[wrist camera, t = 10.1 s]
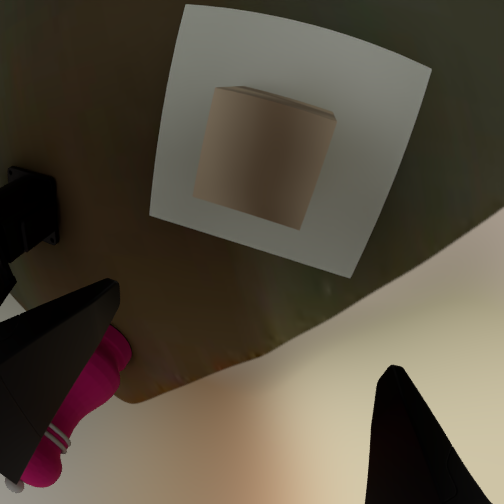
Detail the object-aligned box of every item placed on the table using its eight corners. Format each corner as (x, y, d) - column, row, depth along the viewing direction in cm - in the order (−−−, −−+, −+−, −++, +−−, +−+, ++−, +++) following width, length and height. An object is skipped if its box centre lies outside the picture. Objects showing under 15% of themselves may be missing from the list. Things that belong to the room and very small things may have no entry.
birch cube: (223, 167, 19) (192, 196, 14) (243, 85, 16) (215, 87, 12) (305, 193, 18) (299, 230, 14) (332, 111, 16) (337, 121, 12)
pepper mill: (75, 305, 30) (-38, 450, 13) (134, 329, 29) (26, 504, 12) (86, 349, 33) (-1, 480, 16) (138, 372, 33) (58, 521, 16)
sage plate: (155, 209, 22) (149, 215, 21) (192, 7, 15) (185, 4, 14) (349, 270, 21) (350, 278, 21) (426, 69, 14) (431, 69, 13)
